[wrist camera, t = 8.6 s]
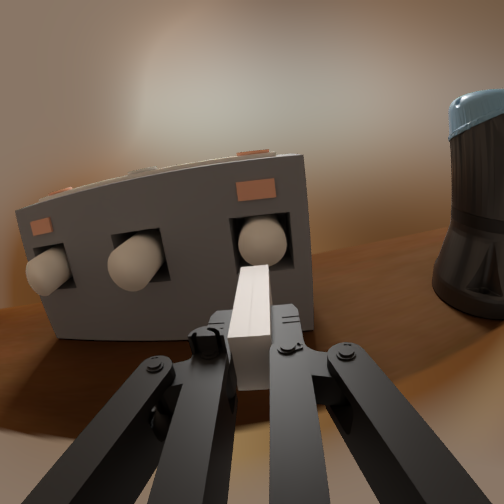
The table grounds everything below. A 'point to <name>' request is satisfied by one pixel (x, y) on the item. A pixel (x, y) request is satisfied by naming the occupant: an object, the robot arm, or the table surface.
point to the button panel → (171, 244)
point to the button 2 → (262, 240)
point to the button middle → (137, 260)
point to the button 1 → (49, 270)
